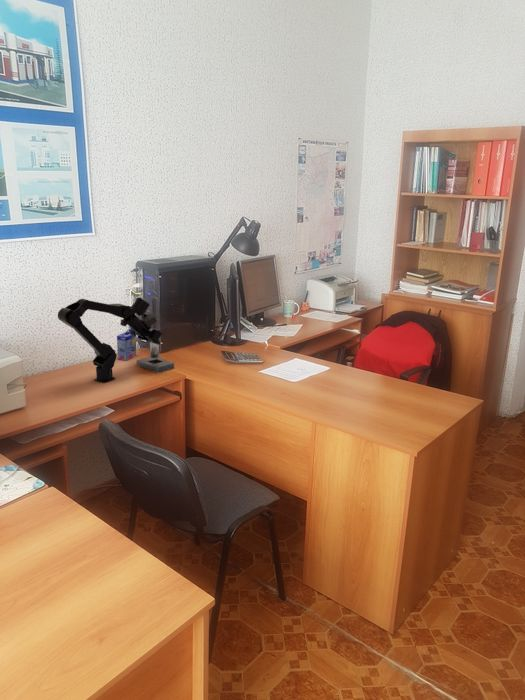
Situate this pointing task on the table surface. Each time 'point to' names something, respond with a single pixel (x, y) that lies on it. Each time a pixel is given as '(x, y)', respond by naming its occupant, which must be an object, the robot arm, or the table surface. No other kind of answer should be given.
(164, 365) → the jig
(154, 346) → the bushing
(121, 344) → the ink cartridge box
